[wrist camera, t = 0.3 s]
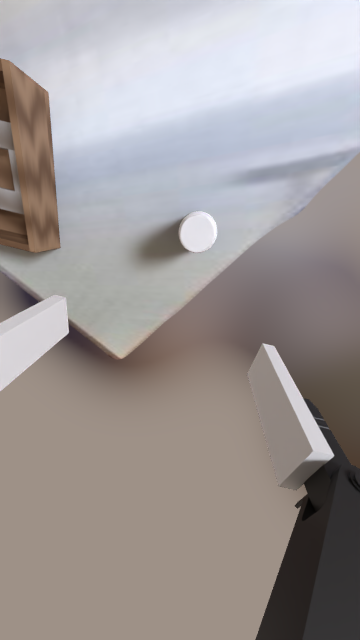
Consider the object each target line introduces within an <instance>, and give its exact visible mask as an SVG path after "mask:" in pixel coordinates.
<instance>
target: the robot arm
mask: <svg viewBox="0 0 360 640" xmlns="http://www.w3.org/2000/svg"><path fill="white" fill-rule="evenodd" d="M68 333H69V329H68V317H67V305H66V297H61V296H57V295H53V296H51V297H49V298H47V299H45V300H43V301H42V302H40V303H38V304H36V305H34V306H32V307H30V308H28V309H26V310H24V311H22V312H20V313H18V314H17V315H15V316H13V317H11V318H9V319H7V320H5V321H3V322H1V323H0V391H1V390H2V389H4V388H5V387H6V386H7V385H8V384H9V383H10V382H12V381H13V380H14V379H15V378H16V377H18V376H19V375H20V374H21V373H22V372H23V371H24V370H26V369H27V368H28V367H29V366H30V365H32V364H33V363H34V362H35V361H36V360H37V359H39V358H40V357H41V356H42V355H43V354H44V353H45V352H47V351H48V350H49V349H50V348H51V347H53V346H54V345H55V344H56V343H57V342H58V341H60V340H61V339H62V338H63V337H64V336H66V335H67V334H68ZM247 375H248V379H249V382H250V386H251V389H252V393H253V397H254V400H255V404H256V407H257V411H258V414H259V418H260V422H261V425H262V429H263V432H264V436H265V439H266V443H267V447H268V450H269V454H270V457H271V461H272V464H273V468H274V471H275V475H276V479H277V482H278V486H280V487H284V488H288V489H293V490H297V489H298V488H300V487H301V486H302V485H303V484H304V485H305V487H306V490H307V493H308V494H307V495H306V496H304V497H303V498H302V499H301V500H300V501H299V502H297V504H296V505H295V507H296V508H299V507H300V506H301V509H300V511H299V514H298V517H297V520H296V523H295V526H294V528H293V532H292V534H291V537H290V540H289V543H288V546H287V549H286V552H285V555H284V558H283V561H282V564H281V567H280V570H279V573H278V575H277V578H276V581H275V584H274V587H273V590H272V593H271V596H270V599H269V602H268V605H267V608H266V610H265V613H264V616H263V619H262V622H261V625H260V628H259V631H258V634H257V637H256V640H360V469H359V468H357V467H356V466H353V465H351V463H350V462H349V460H348V459H347V457H346V455H345V454H344V452H343V450H342V449H341V447H340V446H339V444H338V442H337V440H336V439H335V437H334V435H333V434H332V432H331V430H329V427H328V425H327V424H326V422H325V421H324V419H323V417H322V416H321V413H320V412H319V410H318V409H317V408H316V407H315V406H314V405H313V403H312V402H311V401H310V400H308V399H304V398H302V396H301V394H300V392H299V391H298V389H297V387H296V385H295V383H294V381H293V380H292V378H291V376H290V374H289V373H288V371H287V369H286V367H285V365H284V363H283V361H282V360H281V358H280V356H279V354H278V352H277V351H276V349H275V347H274V346H272V345H267V344H262V346H261V348H260V350H259V352H258V354H257V356H256V357H255V359H254V362H253V363H252V366H251V368H250V370H249V372H248V373H247Z"/></svg>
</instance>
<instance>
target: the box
mask: <svg viewBox="0 0 360 640" xmlns="http://www.w3.org/2000/svg"><path fill="white" fill-rule="evenodd" d="M0 244H1V245H5V246H10V247H14V248H18V249H22V250H26V251H30V252H34V253H37V252H42V251H47V250H52V249H57V248H60V238H59V225H58V212H57V199H56V186H55V173H54V160H53V147H52V134H51V121H50V108H49V95H48V92H47V91H46V90H45V89H43V88H42V87H41V86H40V85H39V84H37V83H36V82H35V81H34V80H32V79H31V78H30V77H29V76H27V75H26V74H25V73H24V72H23V71H21V70H20V69H19V68H18V67H16V66H15V65H14V64H13V63H11V62H10V61H8V60H4V59H0Z"/></svg>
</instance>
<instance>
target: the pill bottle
mask: <svg viewBox="0 0 360 640" xmlns="http://www.w3.org/2000/svg"><path fill="white" fill-rule="evenodd" d="M216 236H217V226H216V223H215V221H214V219H213V218H212V217H211V216H210V215H209V214H208V213H206V212H202V211H195V212H192V213H189V214H188V215H187V216H185V217H184V219H183V220H182V222H181V224H180V226H179V239H180V242H181V244H182V245H183V247H184V248H185V249H187V250H188V251H190V252H193V253H201V252H204V251H206V250H208V249H209V248H210V247H211V246H212V245H213V244H214V242H215V240H216Z"/></svg>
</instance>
